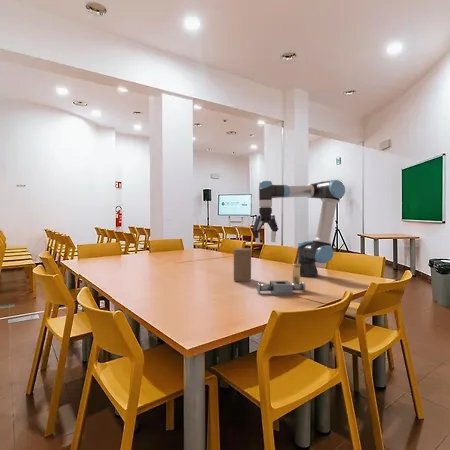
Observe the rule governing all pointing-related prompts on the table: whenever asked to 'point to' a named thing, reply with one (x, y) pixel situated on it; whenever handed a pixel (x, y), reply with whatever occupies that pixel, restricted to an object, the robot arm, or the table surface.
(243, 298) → the table surface
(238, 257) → the wooden block
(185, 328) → the table surface
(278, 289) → the valve body
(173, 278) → the table surface
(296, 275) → the valve handle
